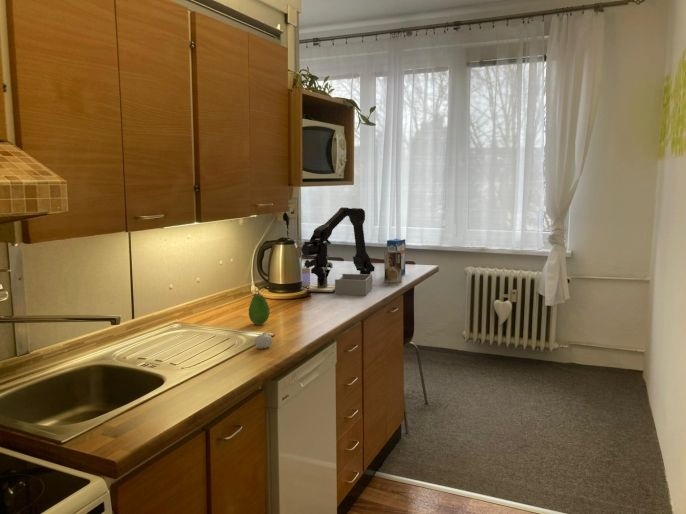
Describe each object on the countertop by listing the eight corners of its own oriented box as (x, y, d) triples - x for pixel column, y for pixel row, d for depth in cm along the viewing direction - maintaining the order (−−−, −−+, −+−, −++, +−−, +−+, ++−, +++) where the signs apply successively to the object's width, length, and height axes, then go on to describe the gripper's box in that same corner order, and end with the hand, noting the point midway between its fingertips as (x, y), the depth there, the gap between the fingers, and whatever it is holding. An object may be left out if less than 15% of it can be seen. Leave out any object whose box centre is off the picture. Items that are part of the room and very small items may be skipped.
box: (342, 287, 283) (342, 273, 282) (372, 288, 280) (372, 274, 278) (335, 294, 268) (334, 279, 266) (366, 295, 264) (365, 280, 263)
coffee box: (401, 280, 301) (401, 250, 298) (401, 282, 294) (401, 252, 292) (384, 280, 302) (384, 250, 299) (384, 282, 295) (384, 252, 293)
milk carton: (396, 273, 323) (395, 238, 320) (405, 274, 320) (405, 239, 317) (387, 275, 315) (386, 240, 312) (396, 276, 312) (396, 241, 309)
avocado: (250, 327, 210) (249, 296, 209) (248, 322, 218) (246, 292, 216) (271, 326, 213) (270, 295, 211) (268, 321, 220) (267, 291, 218)
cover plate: (312, 285, 285) (312, 275, 285) (339, 286, 282) (339, 275, 281) (304, 291, 272) (304, 280, 271) (332, 291, 269) (332, 281, 268)
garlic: (267, 344, 190) (266, 329, 189) (275, 347, 186) (275, 332, 185) (251, 347, 186) (250, 332, 185) (259, 351, 182) (259, 336, 181)
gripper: (311, 250, 285) (312, 281, 288) (300, 256, 267) (301, 288, 270) (332, 251, 283) (333, 281, 285) (322, 256, 265) (323, 288, 267)
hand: (322, 284), depth 277 cm, fingers closed on cover plate, 4 cm apart
